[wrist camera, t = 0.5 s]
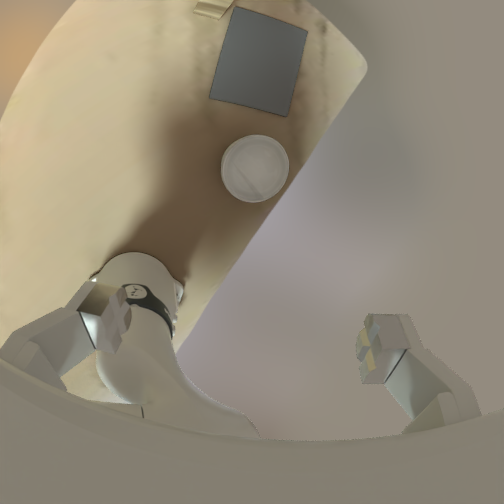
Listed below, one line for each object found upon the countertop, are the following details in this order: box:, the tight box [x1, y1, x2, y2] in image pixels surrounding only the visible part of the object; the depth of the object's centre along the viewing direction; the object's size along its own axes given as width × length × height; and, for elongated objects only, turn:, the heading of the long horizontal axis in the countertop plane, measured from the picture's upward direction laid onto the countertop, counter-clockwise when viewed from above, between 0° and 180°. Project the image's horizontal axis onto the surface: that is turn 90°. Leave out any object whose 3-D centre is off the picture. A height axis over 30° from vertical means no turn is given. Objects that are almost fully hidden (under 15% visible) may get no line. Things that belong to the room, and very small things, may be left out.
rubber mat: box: [209, 7, 308, 117], centre depth 40 cm, size 18×14×1 cm
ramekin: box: [221, 135, 289, 203], centre depth 46 cm, size 11×11×5 cm
